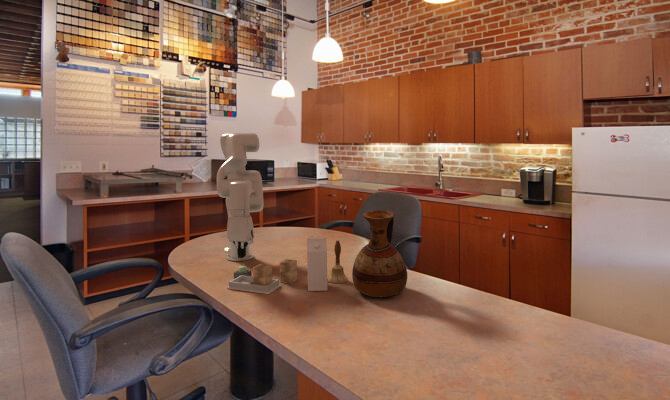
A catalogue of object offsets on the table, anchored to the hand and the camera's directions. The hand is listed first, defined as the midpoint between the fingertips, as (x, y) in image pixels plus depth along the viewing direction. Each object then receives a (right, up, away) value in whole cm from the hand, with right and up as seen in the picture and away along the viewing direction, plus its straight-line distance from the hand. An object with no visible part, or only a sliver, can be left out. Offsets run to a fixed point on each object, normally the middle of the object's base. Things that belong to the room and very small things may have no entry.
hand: (241, 256), depth 160 cm
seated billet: (+11, -10, -12) cm, 19 cm away
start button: (0, -8, 0) cm, 8 cm away
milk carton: (+31, -10, -12) cm, 35 cm away
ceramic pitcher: (+54, -10, -16) cm, 57 cm away
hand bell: (+39, -9, -3) cm, 40 cm away
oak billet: (+19, -9, -3) cm, 22 cm away
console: (0, -9, 0) cm, 9 cm away
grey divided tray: (+7, -10, -10) cm, 16 cm away
